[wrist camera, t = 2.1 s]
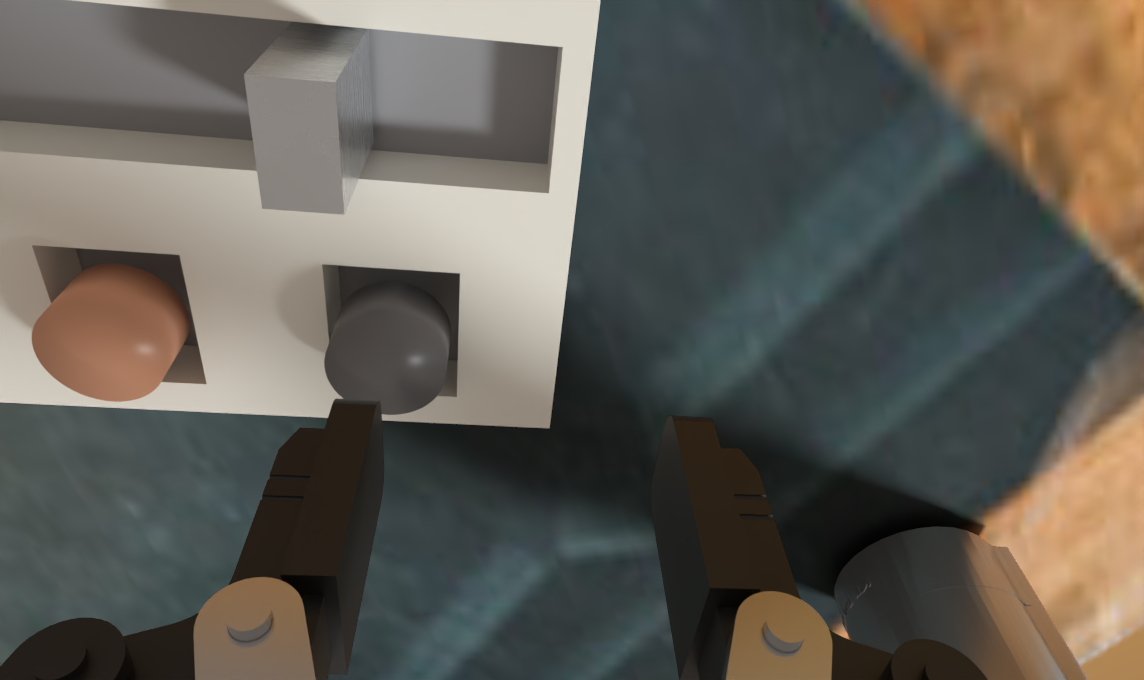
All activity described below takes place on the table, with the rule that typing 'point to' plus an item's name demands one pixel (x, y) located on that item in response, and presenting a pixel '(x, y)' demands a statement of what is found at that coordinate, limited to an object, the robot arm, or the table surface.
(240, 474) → the table surface
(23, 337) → the console
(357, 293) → the black button
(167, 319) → the terracotta button
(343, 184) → the steel slider
